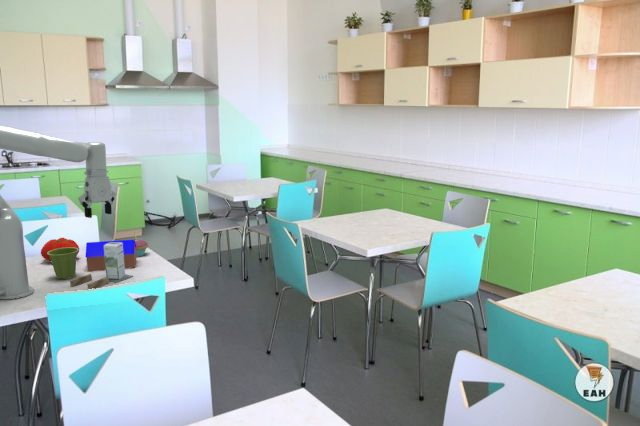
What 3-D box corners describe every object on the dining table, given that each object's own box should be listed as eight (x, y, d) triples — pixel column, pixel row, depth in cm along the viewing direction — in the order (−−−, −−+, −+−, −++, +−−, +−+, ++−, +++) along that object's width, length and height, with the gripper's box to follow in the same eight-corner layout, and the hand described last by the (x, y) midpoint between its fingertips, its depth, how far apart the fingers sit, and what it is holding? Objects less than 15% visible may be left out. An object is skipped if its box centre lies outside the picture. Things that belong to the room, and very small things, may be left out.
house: (90, 264, 248) (88, 239, 245) (137, 260, 252) (135, 236, 250) (86, 272, 236) (84, 245, 234) (135, 268, 241) (133, 242, 239)
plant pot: (65, 271, 237) (63, 246, 234) (87, 274, 232) (84, 248, 230) (43, 279, 226) (40, 253, 224) (65, 282, 222) (62, 255, 219)
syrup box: (125, 275, 229) (123, 241, 226) (119, 279, 223) (116, 245, 220) (112, 275, 230) (110, 241, 227) (105, 279, 224) (102, 245, 221)
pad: (116, 282, 221) (116, 281, 221) (100, 279, 225) (100, 278, 225) (133, 276, 229) (132, 275, 229) (117, 273, 233) (117, 272, 233)
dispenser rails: (89, 290, 212) (88, 284, 211) (70, 286, 217) (70, 280, 216) (109, 283, 220) (108, 277, 220) (90, 279, 225) (89, 273, 225)
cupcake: (126, 256, 259) (124, 232, 256) (137, 252, 267) (135, 228, 264) (141, 258, 256) (140, 233, 254) (152, 253, 264) (150, 229, 262)
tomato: (71, 264, 246) (69, 243, 244) (35, 265, 247) (33, 243, 245) (85, 256, 260) (83, 235, 258) (51, 256, 261) (49, 236, 259)
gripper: (84, 176, 209) (86, 220, 212) (120, 172, 224) (122, 213, 227) (71, 174, 212) (73, 217, 215) (107, 171, 227) (109, 211, 230)
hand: (98, 215), depth 221 cm, fingers open, 9 cm apart
